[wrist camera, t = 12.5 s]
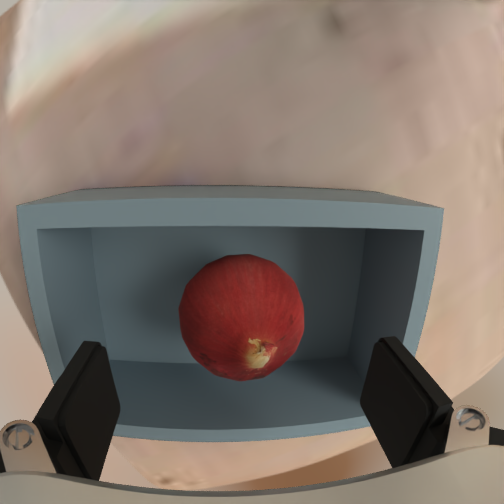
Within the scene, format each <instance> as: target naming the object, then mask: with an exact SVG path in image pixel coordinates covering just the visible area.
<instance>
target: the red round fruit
mask: <svg viewBox="0 0 504 504" xmlns="http://www.w3.org/2000/svg"><path fill="white" fill-rule="evenodd" d="M178 311H179V321H180V330H181V335H182V338H183V340H184V342H185V344H186V346H187V348H188V350H189V352H190V354H191V356H192V357H193V358H194V359H195V360H196V361H197V362H198V363H199V364H201V365H202V366H203V367H204V368H206V369H207V370H208V371H210V372H211V373H212V374H213V375H216V376H219V377H223V378H227V379H231V380H235V381H247V380H254V379H261V378H264V377H266V376H267V375H269V374H270V373H272V372H273V371H275V370H276V369H278V368H279V367H281V366H282V365H283V364H284V363H285V362H286V361H287V360H288V359H289V358H290V357H291V356H292V355H293V354H294V353H295V351H296V350H297V347H298V345H299V342H300V340H301V338H302V335H303V332H304V307H303V302H302V299H301V297H300V294H299V291H298V288H297V286H296V283H295V282H294V280H293V279H292V278H291V277H290V276H289V275H288V274H287V273H286V272H285V271H284V270H282V269H281V268H280V267H279V266H278V265H277V264H276V263H274V262H272V261H270V260H267V259H264V258H261V257H258V256H255V255H252V254H239V255H226V256H224V257H222V258H219V259H217V260H215V261H213V262H210V263H208V264H206V265H205V266H204V267H203V268H202V269H201V270H200V271H199V272H198V273H197V274H196V275H195V276H194V277H193V278H192V279H191V280H190V281H189V282H188V283H187V285H186V286H185V289H184V292H183V295H182V298H181V302H180V305H179V308H178Z"/></svg>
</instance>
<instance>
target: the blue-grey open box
mask: <svg viewBox="0 0 504 504" xmlns="http://www.w3.org/2000/svg"><path fill="white" fill-rule="evenodd" d="M443 213H444V208H440V207H437V206H433V205H429V204H425V203H421V202H417V201H413V200H409V199H405V198H401V197H397V196H393V195H388V194H384V193H379V192H373V191H360V190H345V189H328V188H308V187H282V186H238V185H183V186H141V187H116V188H96V189H80V190H76V191H72V192H68V193H63V194H59V195H55V196H51V197H47V198H43V199H39V200H36V201H32V202H28V203H24V204H21V205H17V218H18V228H19V237H20V245H21V253H22V259H23V266H24V272H25V278H26V283H27V288H28V293H29V298H30V303H31V307H32V311H33V316H34V320H35V324H36V328H37V332H38V335H39V339H40V342H41V346H42V349H43V353H44V356H45V359H46V362H47V366H48V369H49V372H50V374H51V377H52V380H53V383H54V385H55V383H56V381H57V380H58V378H59V377H60V376H61V375H62V373H63V371H64V370H65V368H66V367H67V365H68V364H69V362H70V360H71V359H72V357H73V356H74V354H75V353H76V351H77V350H78V348H79V347H80V345H81V344H82V342H83V341H96V342H100V343H101V345H102V346H104V347H106V350H107V354H108V359H109V363H110V367H111V371H112V375H113V379H114V383H115V387H116V391H117V395H118V398H119V402H120V415H119V418H118V421H117V424H116V427H115V430H114V433H113V436H121V437H129V438H139V439H150V440H164V441H184V442H241V441H262V440H276V439H287V438H297V437H306V436H314V435H322V434H329V433H335V432H342V431H348V430H353V429H359V428H364V427H369V426H371V425H370V423H369V421H368V419H367V418H366V416H365V414H364V412H363V410H362V408H361V405H360V397H361V393H362V390H363V386H364V383H365V379H366V375H367V371H368V367H369V363H370V359H371V355H372V351H373V347H374V344H375V343H376V342H378V340H379V339H380V338H382V337H391V336H395V337H397V338H398V339H399V340H400V342H401V343H402V344H403V345H404V346H405V347H406V348H407V350H408V351H409V352H410V353H411V354H412V355H413V356H414V357H415V354H416V351H417V347H418V344H419V340H420V336H421V332H422V329H423V325H424V321H425V317H426V312H427V308H428V304H429V299H430V294H431V290H432V285H433V280H434V274H435V269H436V263H437V257H438V251H439V244H440V237H441V230H442V222H443ZM239 254H252V255H255V256H258V257H261V258H264V259H267V260H270V261H272V262H274V263H276V264H277V265H278V266H279V267H280V268H281V269H282V270H284V271H285V272H286V273H287V274H288V275H289V276H290V277H291V278H292V279H293V280H294V282H295V283H296V286H297V288H298V291H299V294H300V297H301V299H302V302H303V307H304V332H303V335H302V338H301V340H300V342H299V345H298V347H297V350H296V351H295V353H294V354H293V355H292V356H291V357H290V358H289V359H288V360H287V361H286V362H285V363H284V364H283V365H282V366H281V367H279V368H278V369H276V370H275V371H273V372H272V373H270V374H269V375H267V376H266V377H264V378H261V379H254V380H247V381H235V380H231V379H227V378H223V377H219V376H216V375H213V374H212V373H211V372H210V371H208V370H207V369H206V368H204V367H203V366H202V365H201V364H199V363H198V362H197V361H196V360H195V359H194V358H193V357H192V356H191V354H190V352H189V350H188V348H187V346H186V344H185V342H184V340H183V338H182V335H181V330H180V321H179V311H178V308H179V305H180V302H181V298H182V295H183V292H184V289H185V286H186V285H187V283H188V282H189V281H190V280H191V279H192V278H193V277H194V276H195V275H196V274H197V273H198V272H199V271H200V270H201V269H202V268H203V267H204V266H205V265H206V264H208V263H210V262H213V261H215V260H217V259H219V258H222V257H224V256H226V255H239Z"/></svg>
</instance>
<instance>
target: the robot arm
mask: <svg viewBox="0 0 504 504" xmlns="http://www.w3.org/2000/svg"><path fill="white" fill-rule="evenodd" d="M452 404H453V402H452V401H451V400H450V398H449V397H448V396H447V395H446V394H445V392H444V391H443V390H442V389H441V388H440V387H439V385H438V384H437V383H436V382H435V381H434V379H433V378H432V377H431V376H430V375H429V374H428V372H427V371H426V370H425V369H424V368H423V367H422V366H421V364H420V363H419V362H418V361H417V360H416V359H415V357H414V356H413V355H412V354H411V353H410V352H409V351H408V350H407V348H406V347H405V346H404V345H403V344H402V343H401V342H400V340H399V339H398V338H397V337H395V336H391V337H382V338H380V339H379V340H378V342H376V343H375V344H374V347H373V351H372V355H371V359H370V363H369V367H368V371H367V375H366V379H365V383H364V386H363V390H362V393H361V397H360V405H361V408H362V410H363V412H364V414H365V416H366V418H367V419H368V421H369V423H370V425H371V427H372V429H373V431H374V433H375V435H376V437H377V439H378V441H379V443H380V445H381V447H382V448H383V450H384V452H385V454H386V456H387V458H388V460H389V462H390V464H391V466H392V468H391V469H388V470H384V471H380V472H376V473H372V474H368V475H363V476H358V477H354V478H349V479H343V480H338V481H333V482H326V483H320V484H313V485H306V486H298V487H290V488H280V489H268V490H253V491H183V490H167V489H155V488H146V487H137V486H129V485H122V484H114V483H108V482H102V481H99V479H100V475H101V472H102V469H103V465H104V462H105V459H106V455H107V452H108V449H109V445H110V442H111V439H112V436H113V433H114V430H115V427H116V424H117V421H118V418H119V415H120V402H119V398H118V395H117V391H116V387H115V383H114V379H113V375H112V371H111V367H110V363H109V359H108V354H107V350H106V347H104V346H102V345H101V343H100V342H96V341H83V342H82V344H81V345H80V347H79V348H78V350H77V351H76V353H75V354H74V356H73V357H72V359H71V360H70V362H69V364H68V365H67V367H66V368H65V370H64V371H63V373H62V375H61V376H60V377H59V378H58V380H57V381H56V383H55V385H54V386H53V388H52V390H51V391H50V393H49V395H48V397H47V398H46V400H45V401H44V403H43V404H42V406H41V408H40V409H39V411H38V413H37V415H36V416H35V418H34V420H33V421H32V422H29V421H27V420H15V421H12V422H10V423H8V424H6V425H5V426H4V427H3V428H2V429H1V431H0V504H504V430H501V429H497V428H493V427H490V422H489V418H488V416H487V414H486V413H485V412H484V411H483V410H481V409H479V408H478V407H474V406H470V405H463V406H460V407H458V408H456V409H455V410H454V409H453V408H452Z"/></svg>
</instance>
